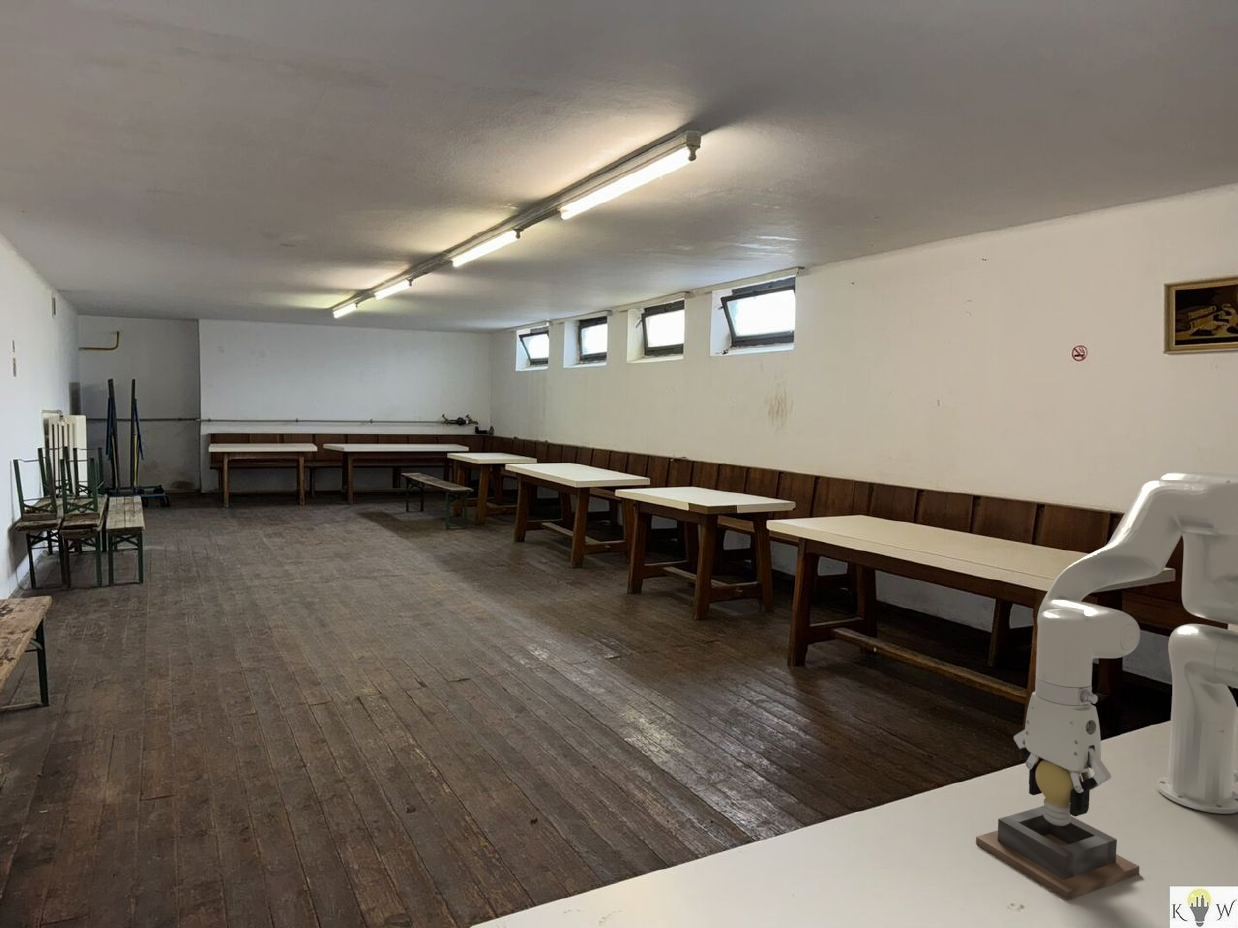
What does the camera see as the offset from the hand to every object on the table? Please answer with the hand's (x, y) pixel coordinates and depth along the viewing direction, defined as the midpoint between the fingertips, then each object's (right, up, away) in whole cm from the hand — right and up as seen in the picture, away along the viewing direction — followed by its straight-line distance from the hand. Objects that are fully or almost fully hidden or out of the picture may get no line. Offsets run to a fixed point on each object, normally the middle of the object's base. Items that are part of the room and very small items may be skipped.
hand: (1057, 802), depth 123 cm
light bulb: (0, -3, 0) cm, 3 cm away
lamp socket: (0, -9, +1) cm, 9 cm away
